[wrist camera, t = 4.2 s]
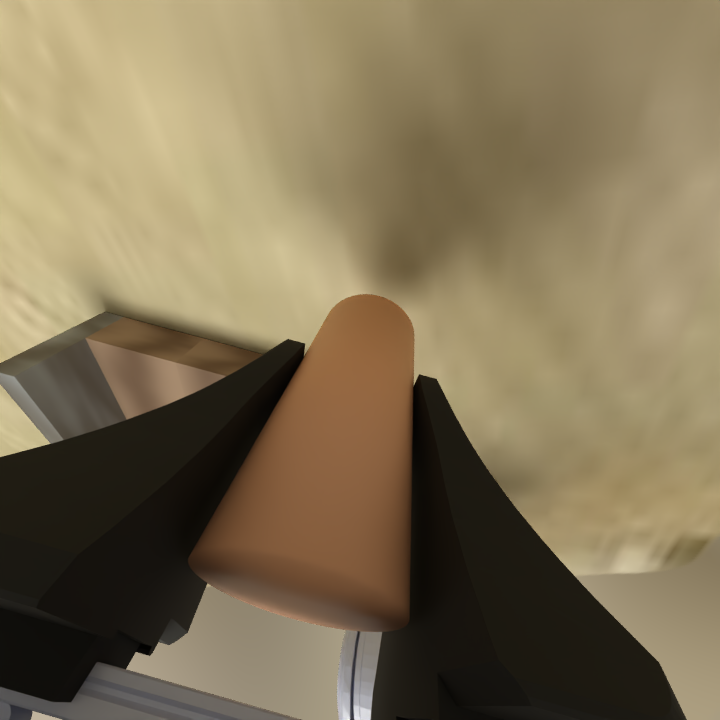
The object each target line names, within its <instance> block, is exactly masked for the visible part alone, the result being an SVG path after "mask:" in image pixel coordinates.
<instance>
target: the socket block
mask: <svg viewBox="0 0 720 720" xmlns="http://www.w3.org/2000/svg"><path fill="white" fill-rule="evenodd" d="M262 355H263V354H259V353H256V352H252V351H248V350H245V349H241V348H237V347H233V346H230V345H226V344H222V343H219V342H215V341H211V340H207V339H204V338H200V337H196V336H193V335H189V334H185V333H181V332H178V331H174V330H170V329H167V328H163V327H159V326H155V325H152V324H148V323H144V322H140V321H137V320H133V319H129V318H126V317H122V316H118V315H114V314H111V313H107V312H104V313H101V314H99V315H97V316H95V317H93V318H91V319H89V320H87V321H85V322H83V323H81V324H79V325H77V326H75V327H73V328H71V329H69V330H67V331H65V332H63V333H61V334H59V335H57V336H55V337H53V338H51V339H49V340H47V341H45V342H43V343H41V344H39V345H36V346H34V347H32V348H30V349H28V350H26V351H24V352H22V353H20V354H18V355H16V356H14V357H12V358H10V359H8V360H6V361H4V362H2V363H0V384H1V386H2V387H3V388H4V389H5V390H6V391H7V393H8V394H9V395H10V396H11V397H12V399H13V400H14V401H15V402H16V403H17V404H18V406H19V407H20V408H21V409H22V410H23V412H24V413H25V414H26V415H27V416H28V417H29V419H30V420H31V421H32V422H33V423H34V425H35V426H36V427H37V428H38V429H39V430H40V432H41V433H42V434H43V435H44V436H45V438H46V439H47V440H48V441H49V442H50V443H51V444H52V443H55V442H59V441H62V440H65V439H69V438H72V437H75V436H78V435H82V434H85V433H88V432H92V431H95V430H98V429H101V428H104V427H107V426H110V425H113V424H116V423H119V422H122V421H125V420H127V419H130V418H133V417H135V416H138V415H141V414H143V413H146V412H149V411H151V410H154V409H157V408H159V407H162V406H165V405H167V404H169V403H172V402H174V401H177V400H179V399H181V398H183V397H186V396H188V395H190V394H192V393H195V392H197V391H199V390H201V389H203V388H205V387H207V386H209V385H211V384H213V383H215V382H217V381H218V380H220V379H222V378H224V377H226V376H228V375H230V374H232V373H233V372H235V371H237V370H239V369H240V368H242V367H244V366H245V365H247V364H249V363H250V362H252V361H254V360H255V359H257V358H259V357H260V356H262Z"/></svg>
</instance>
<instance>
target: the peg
mask: <svg viewBox="0 0 720 720" xmlns="http://www.w3.org/2000/svg"><path fill="white" fill-rule="evenodd" d="M413 386H414V329H413V326H412V323H411V321H410V319H409V317H408V316H407V314H406V313H405V312H404V311H403V310H402V309H401V308H400V307H399V306H398V305H397V304H395V303H394V302H392V301H390V300H388V299H386V298H383V297H380V296H376V295H368V294H363V295H355V296H351V297H348V298H346V299H344V300H342V301H341V302H339V303H338V304H337V305H335V306H334V307H333V309H332V310H331V311H330V313H329V314H328V316H327V318H326V320H325V321H324V323H323V325H322V326H321V328H320V330H319V332H318V333H317V335H316V337H315V339H314V340H313V342H312V344H311V346H310V347H309V349H308V351H307V353H306V354H305V356H304V358H303V360H302V361H301V363H300V365H299V366H298V368H297V370H296V372H295V373H294V375H293V377H292V379H291V380H290V382H289V384H288V386H287V387H286V389H285V391H284V393H283V394H282V396H281V398H280V400H279V401H278V403H277V405H276V406H275V408H274V410H273V412H272V413H271V415H270V417H269V419H268V420H267V422H266V424H265V426H264V427H263V429H262V431H261V433H260V434H259V436H258V438H257V440H256V441H255V443H254V445H253V446H252V448H251V450H250V452H249V453H248V455H247V457H246V459H245V460H244V462H243V464H242V466H241V467H240V469H239V471H238V473H237V474H236V476H235V478H234V480H233V481H232V483H231V485H230V487H229V488H228V490H227V492H226V493H225V495H224V497H223V499H222V500H221V502H220V504H219V506H218V507H217V509H216V511H215V513H214V514H213V516H212V518H211V520H210V521H209V523H208V525H207V527H206V528H205V530H204V532H203V533H202V535H201V537H200V539H199V540H198V542H197V544H196V546H195V547H194V549H193V551H192V553H191V554H190V556H189V558H188V563H189V566H190V568H191V569H192V570H193V572H194V573H195V574H197V575H198V576H199V577H200V578H201V579H203V580H204V581H205V582H207V583H208V584H210V585H211V586H213V587H215V588H216V589H218V590H220V591H222V592H224V593H226V594H228V595H230V596H232V597H234V598H236V599H238V600H241V601H243V602H245V603H248V604H250V605H253V606H255V607H258V608H261V609H264V610H266V611H269V612H272V613H275V614H279V615H282V616H285V617H288V618H292V619H296V620H299V621H304V622H307V623H311V624H316V625H320V626H325V627H331V628H337V629H343V630H351V631H362V632H387V631H394V630H398V629H401V628H403V627H405V626H406V625H407V624H408V622H409V618H410V560H411V502H412V444H413Z"/></svg>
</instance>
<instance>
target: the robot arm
mask: <svg viewBox="0 0 720 720" xmlns="http://www.w3.org/2000/svg"><path fill="white" fill-rule="evenodd" d="M304 349H305V344H304V343H301V342H297V341H293V340H289V339H287V340H286V341H284V342H282V343H281V344H279V345H278V346H276V347H274V348H273V349H271V350H270V351H268V352H267V353H265V354H263V355H262V356H260V357H259V358H257V359H255V360H254V361H252V362H250V363H249V364H247V365H245V366H244V367H242V368H240V369H239V370H237V371H235V372H233V373H232V374H230V375H228V376H226V377H224V378H222V379H220V380H218V381H217V382H215V383H213V384H211V385H209V386H207V387H205V388H203V389H201V390H199V391H197V392H195V393H192V394H190V395H188V396H186V397H183V398H181V399H179V400H177V401H174V402H172V403H169V404H167V405H165V406H162V407H159V408H157V409H154V410H151V411H149V412H146V413H143V414H141V415H138V416H135V417H133V418H130V419H127V420H125V421H122V422H119V423H116V424H113V425H110V426H107V427H104V428H101V429H98V430H95V431H92V432H88V433H85V434H82V435H78V436H75V437H72V438H69V439H65V440H62V441H59V442H55V443H52V444H48V445H45V446H41V447H37V448H33V449H30V450H26V451H22V452H18V453H15V454H11V455H7V456H3V457H0V720H31V717H32V711H35V712H39V713H42V714H45V715H49V716H52V717H56V718H59V719H63V720H301V719H297V718H293V717H290V716H287V715H283V714H280V713H276V712H273V711H269V710H266V709H262V708H259V707H255V706H252V705H248V704H245V703H241V702H238V701H234V700H231V699H227V698H224V697H220V696H217V695H213V694H210V693H206V692H203V691H199V690H196V689H192V688H189V687H185V686H182V685H178V684H175V683H172V682H168V681H164V680H161V679H158V678H154V677H150V676H147V675H144V674H140V673H136V672H133V671H130V670H126V668H127V666H128V665H129V663H130V661H131V659H132V658H133V656H134V654H135V652H138V653H142V654H145V655H149V656H150V655H151V654H152V653H153V651H154V649H155V647H156V645H157V644H158V642H160V643H164V644H167V645H170V644H172V643H174V642H175V641H177V640H178V639H180V638H181V637H182V636H184V635H185V634H186V633H188V630H189V628H190V625H191V623H192V620H193V618H194V615H195V613H196V610H197V608H198V605H199V603H200V600H201V598H202V595H203V592H204V590H205V588H206V585H207V582H205V581H204V580H203V579H201V578H200V577H199V576H198V575H197V574H195V573H194V572H193V570H192V569H191V568H190V566H189V563H188V558H189V556H190V554H191V553H192V551H193V549H194V547H195V546H196V544H197V542H198V540H199V539H200V537H201V535H202V533H203V532H204V530H205V528H206V527H207V525H208V523H209V521H210V520H211V518H212V516H213V514H214V513H215V511H216V509H217V507H218V506H219V504H220V502H221V500H222V499H223V497H224V495H225V493H226V492H227V490H228V488H229V487H230V485H231V483H232V481H233V480H234V478H235V476H236V474H237V473H238V471H239V469H240V467H241V466H242V464H243V462H244V460H245V459H246V457H247V455H248V453H249V452H250V450H251V448H252V446H253V445H254V443H255V441H256V440H257V438H258V436H259V434H260V433H261V431H262V429H263V427H264V426H265V424H266V422H267V420H268V419H269V417H270V415H271V413H272V412H273V410H274V408H275V406H276V405H277V403H278V401H279V400H280V398H281V396H282V394H283V393H284V391H285V389H286V387H287V386H288V384H289V382H290V380H291V379H292V377H293V375H294V373H295V372H296V370H297V368H298V366H299V365H300V363H301V361H302V360H303V358H304ZM337 703H338V713H339V720H687V719H686V717H685V715H684V713H683V711H682V709H681V707H680V705H679V703H678V701H677V699H676V697H675V694H674V692H673V690H672V688H671V686H670V684H669V682H668V680H667V678H666V676H665V674H664V672H663V670H662V668H661V666H660V664H659V662H658V661H657V660H656V659H655V658H654V657H653V656H652V655H651V654H650V653H649V652H648V651H647V650H646V649H645V648H644V647H643V646H642V645H641V644H640V643H639V642H638V641H637V640H636V639H635V638H634V637H633V636H632V635H631V634H630V633H629V632H628V631H627V630H626V629H625V628H624V627H623V626H622V625H621V624H620V623H619V622H618V621H617V620H616V619H615V618H614V617H613V616H612V615H611V614H610V613H609V612H608V611H607V610H606V609H605V608H604V607H603V606H602V605H601V604H600V603H599V602H598V601H597V600H596V599H595V598H594V597H593V596H592V594H591V593H590V592H589V591H588V590H587V589H586V588H585V587H584V586H583V585H582V584H581V583H580V582H579V580H577V578H576V577H575V576H574V575H573V574H572V573H571V572H570V571H569V570H568V568H567V567H566V566H565V565H564V564H563V563H562V562H561V561H560V560H559V559H558V557H557V556H556V555H555V554H554V553H553V552H552V551H551V549H550V548H549V547H548V546H547V545H546V544H545V543H544V541H543V540H542V539H541V538H540V537H539V536H538V534H537V533H536V532H535V531H534V530H533V528H532V527H531V526H530V525H529V523H528V522H527V521H526V520H525V519H524V517H523V516H522V515H521V514H520V513H519V511H518V510H517V509H516V507H515V506H514V505H513V504H512V502H511V501H510V500H509V498H508V497H507V496H506V494H505V493H504V492H503V490H502V489H501V488H500V486H499V485H498V483H497V482H496V481H495V479H494V478H493V477H492V475H491V474H490V472H489V471H488V469H487V468H486V466H485V465H484V463H483V462H482V460H481V459H480V457H479V456H478V454H477V452H476V451H475V449H474V448H473V446H472V445H471V443H470V441H469V440H468V438H467V436H466V434H465V433H464V431H463V429H462V427H461V425H460V424H459V422H458V420H457V418H456V416H455V414H454V413H453V411H452V409H451V407H450V405H449V403H448V401H447V399H446V397H445V395H444V393H443V391H442V389H441V387H440V385H439V383H438V381H437V379H434V378H431V377H427V376H423V375H420V374H419V376H418V378H417V380H416V383H415V385H414V387H413V444H412V502H411V560H410V618H409V622H408V624H407V625H406V626H405V627H403V628H401V629H398V630H394V631H387V632H362V631H351V630H345V634H344V638H343V643H342V649H341V655H340V662H339V671H338V685H337Z"/></svg>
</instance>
